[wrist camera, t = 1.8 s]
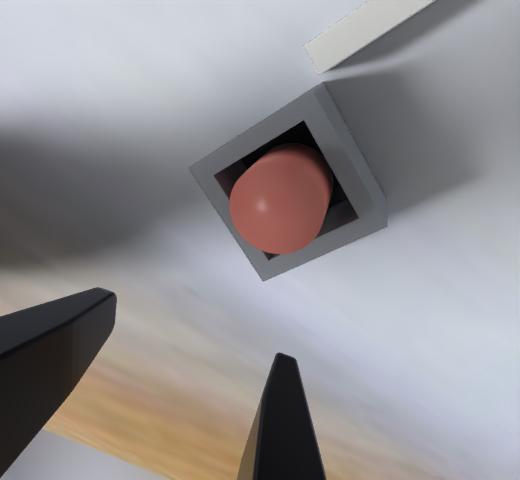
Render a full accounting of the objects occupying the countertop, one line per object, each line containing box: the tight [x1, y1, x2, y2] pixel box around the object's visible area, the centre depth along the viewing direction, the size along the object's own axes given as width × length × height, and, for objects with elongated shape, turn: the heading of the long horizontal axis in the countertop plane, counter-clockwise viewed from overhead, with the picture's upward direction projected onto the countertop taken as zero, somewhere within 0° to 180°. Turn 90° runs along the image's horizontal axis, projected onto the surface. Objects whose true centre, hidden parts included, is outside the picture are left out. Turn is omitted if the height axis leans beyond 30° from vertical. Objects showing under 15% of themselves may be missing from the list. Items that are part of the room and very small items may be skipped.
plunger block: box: [189, 82, 387, 282], centre depth 19 cm, size 6×6×4 cm
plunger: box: [229, 143, 334, 254], centre depth 17 cm, size 4×4×4 cm
